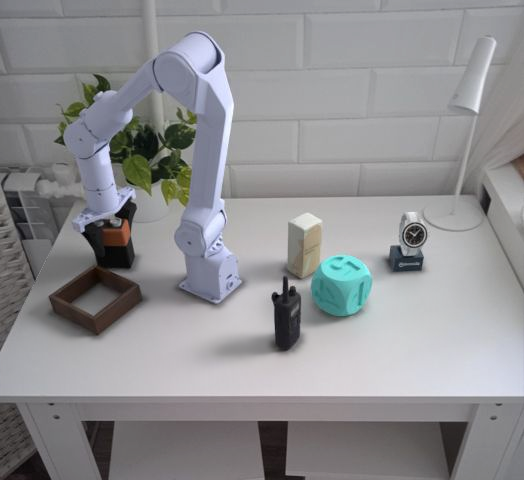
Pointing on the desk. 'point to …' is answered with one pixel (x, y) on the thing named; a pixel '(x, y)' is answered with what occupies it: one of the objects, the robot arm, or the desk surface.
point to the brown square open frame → (84, 283)
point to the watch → (409, 244)
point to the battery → (116, 244)
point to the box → (304, 244)
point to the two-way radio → (287, 316)
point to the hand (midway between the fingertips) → (113, 245)
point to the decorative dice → (341, 285)
